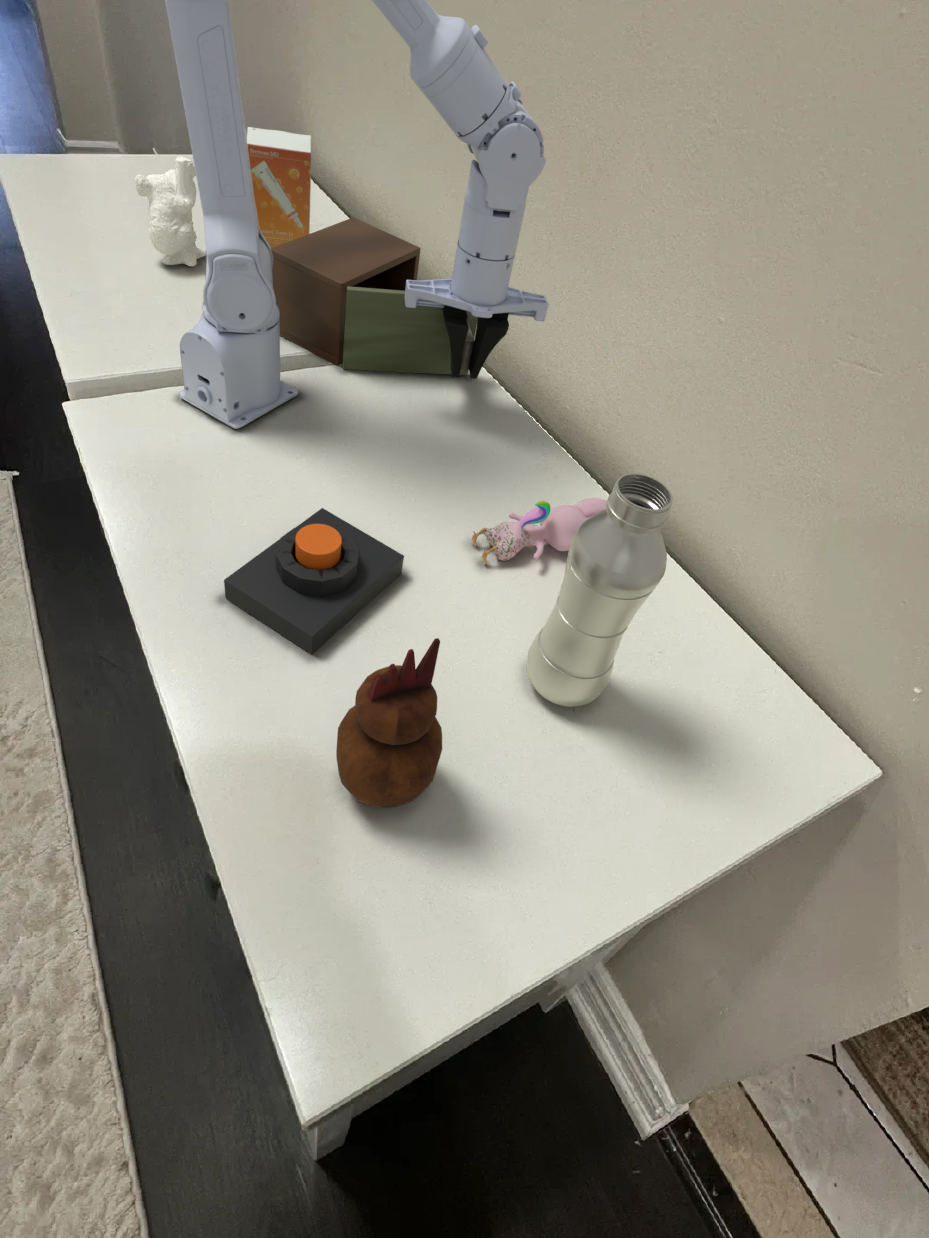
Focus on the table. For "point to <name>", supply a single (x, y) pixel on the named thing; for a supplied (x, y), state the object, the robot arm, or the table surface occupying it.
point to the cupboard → (335, 280)
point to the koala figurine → (172, 212)
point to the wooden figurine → (392, 734)
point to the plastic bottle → (601, 591)
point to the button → (318, 546)
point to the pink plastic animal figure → (539, 528)
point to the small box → (281, 183)
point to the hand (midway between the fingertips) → (463, 373)
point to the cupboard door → (398, 334)
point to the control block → (313, 584)
